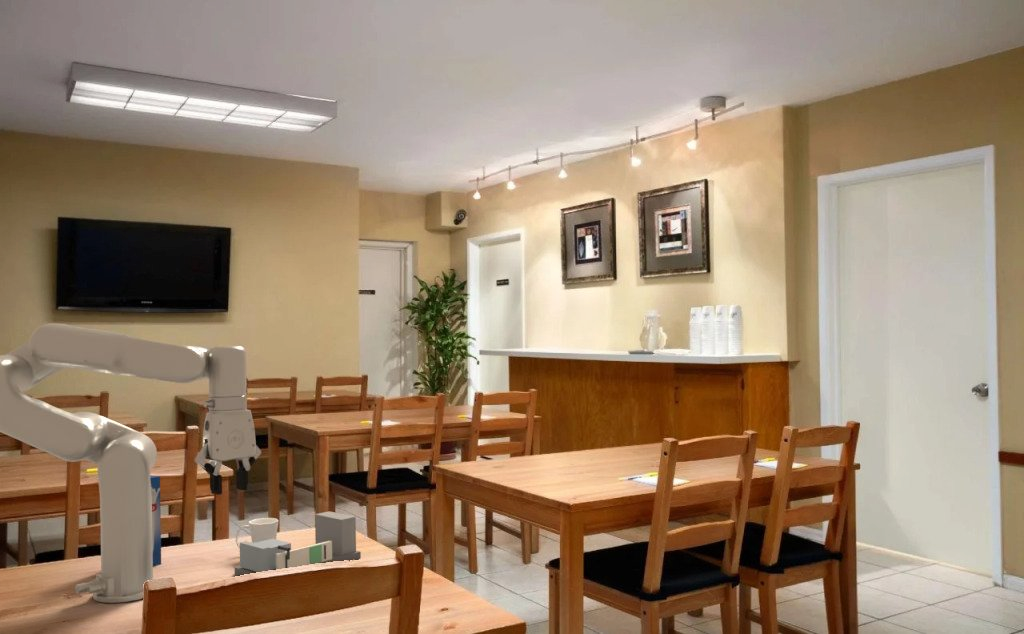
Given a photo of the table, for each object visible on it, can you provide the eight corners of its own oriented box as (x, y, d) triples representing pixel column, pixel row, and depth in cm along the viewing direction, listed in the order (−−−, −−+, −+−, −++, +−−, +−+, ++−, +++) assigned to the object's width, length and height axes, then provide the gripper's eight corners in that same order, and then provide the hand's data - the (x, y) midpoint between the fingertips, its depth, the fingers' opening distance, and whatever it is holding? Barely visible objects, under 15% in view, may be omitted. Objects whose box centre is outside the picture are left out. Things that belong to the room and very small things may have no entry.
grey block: (270, 575, 175) (269, 550, 175) (239, 566, 182) (239, 542, 182) (301, 567, 180) (300, 543, 180) (270, 559, 188) (270, 535, 188)
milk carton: (120, 574, 184) (119, 483, 185) (104, 570, 188) (103, 481, 188) (161, 563, 193) (160, 476, 193) (145, 560, 196) (144, 474, 196)
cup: (275, 558, 195) (274, 523, 195) (231, 559, 195) (231, 524, 195) (282, 550, 202) (282, 517, 202) (240, 552, 202) (240, 518, 202)
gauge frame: (266, 584, 175) (265, 538, 175) (234, 574, 183) (233, 530, 183) (361, 558, 194) (360, 516, 194) (328, 550, 202) (328, 510, 202)
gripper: (199, 408, 167) (200, 500, 167) (273, 402, 180) (274, 487, 180) (180, 407, 172) (181, 496, 172) (254, 401, 185) (255, 483, 185)
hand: (229, 490), depth 176 cm, fingers open, 5 cm apart
